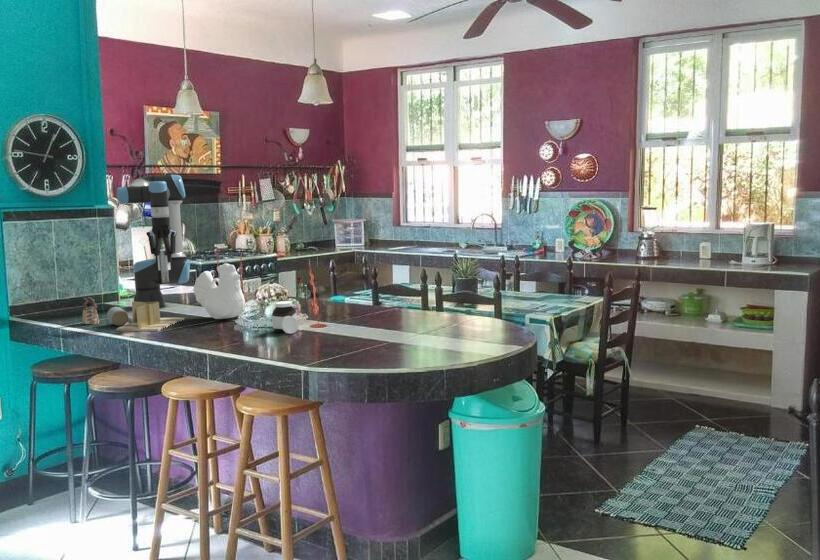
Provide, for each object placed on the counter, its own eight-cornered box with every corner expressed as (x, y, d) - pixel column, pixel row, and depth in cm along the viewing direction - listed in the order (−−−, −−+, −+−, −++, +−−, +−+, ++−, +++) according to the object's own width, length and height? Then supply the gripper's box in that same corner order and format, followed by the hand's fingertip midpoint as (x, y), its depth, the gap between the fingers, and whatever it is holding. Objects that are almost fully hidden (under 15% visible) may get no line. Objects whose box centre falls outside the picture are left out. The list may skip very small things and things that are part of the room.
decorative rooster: (254, 316, 348) (250, 261, 344) (227, 323, 335) (223, 266, 332) (216, 312, 362) (212, 259, 359) (189, 318, 349) (185, 263, 346)
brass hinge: (134, 321, 341) (133, 301, 340) (164, 321, 339) (162, 301, 337) (116, 328, 326) (114, 307, 325) (146, 328, 324) (145, 307, 323)
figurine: (102, 322, 346) (100, 296, 344) (87, 325, 341) (85, 298, 339) (94, 321, 350) (92, 295, 349) (79, 324, 345) (76, 297, 343)
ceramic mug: (112, 327, 334) (111, 310, 333) (107, 324, 341) (105, 307, 340) (137, 324, 341) (136, 307, 340) (131, 321, 347) (130, 304, 346)
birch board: (144, 319, 350) (144, 317, 349) (184, 319, 346) (184, 317, 346) (116, 330, 326) (116, 328, 326) (158, 330, 323) (158, 328, 323)
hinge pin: (164, 281, 345) (161, 250, 343) (170, 281, 345) (167, 250, 342) (160, 282, 342) (158, 251, 340) (167, 282, 342) (164, 251, 340)
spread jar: (285, 327, 320) (283, 300, 319) (307, 329, 315) (306, 301, 313) (267, 333, 310) (265, 305, 308) (290, 335, 305) (288, 306, 303)
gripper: (138, 217, 337) (143, 271, 340) (173, 216, 334) (177, 270, 338) (147, 216, 344) (151, 268, 348) (181, 215, 341) (185, 268, 345)
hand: (164, 269), depth 343 cm, fingers closed on hinge pin, 3 cm apart
